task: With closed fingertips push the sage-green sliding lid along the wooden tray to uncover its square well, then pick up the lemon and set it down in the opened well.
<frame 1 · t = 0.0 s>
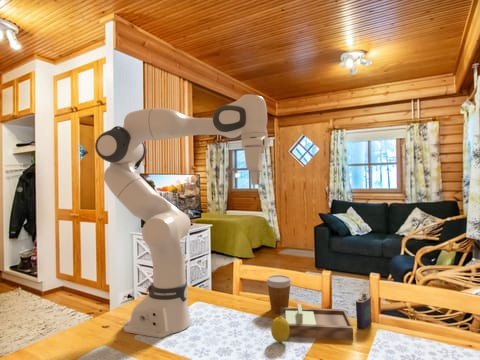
hand: (255, 184, 101), 48 cm above the table, fingers open, 8 cm apart
cover: (300, 313, 101), point 4 cm above the table, slide at 0.0 cm
lemon: (280, 343, 91), on the table
wooden tray: (314, 327, 101), on the table
disposable coffee cup: (279, 310, 115), on the table
flask: (364, 325, 102), on the table
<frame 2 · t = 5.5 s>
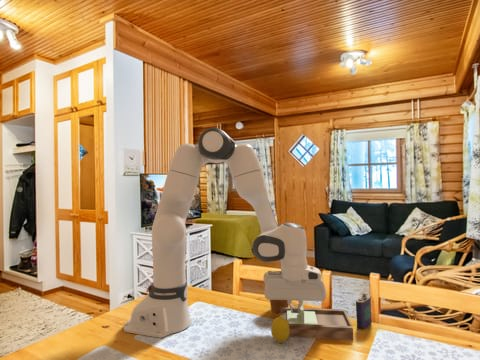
hand: (295, 312, 102), 5 cm above the table, fingers closed
cover: (301, 313, 101), point 4 cm above the table, slide at 0.5 cm, touching gripper
everything else where it was.
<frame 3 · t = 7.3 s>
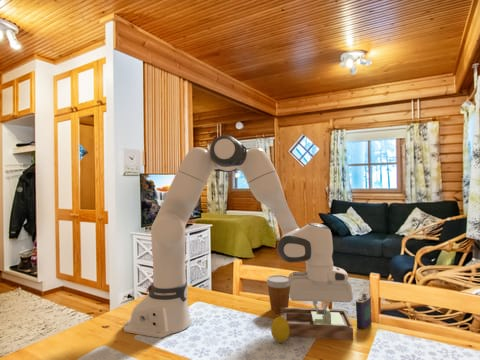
hand: (320, 313, 101), 5 cm above the table, fingers closed
cover: (327, 314, 100), point 4 cm above the table, slide at 8.9 cm, touching gripper
everything else where it was.
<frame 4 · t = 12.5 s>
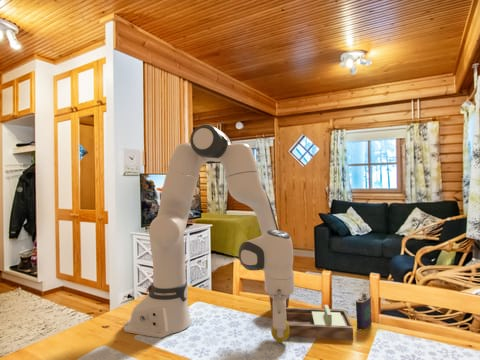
hand: (280, 330, 91), 4 cm above the table, fingers closed on lemon, 5 cm apart
cover: (327, 314, 100), point 4 cm above the table, slide at 9.1 cm
lemon: (280, 343, 91), on the table, touching gripper
everything else where it was.
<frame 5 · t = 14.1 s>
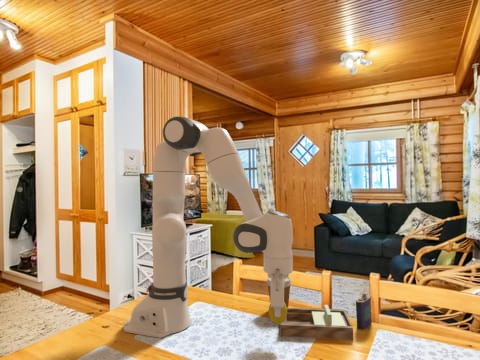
hand: (277, 311, 91), 10 cm above the table, fingers closed on lemon, 5 cm apart
lemon: (277, 325, 91), point 5 cm above the table, touching gripper
everything else where it was.
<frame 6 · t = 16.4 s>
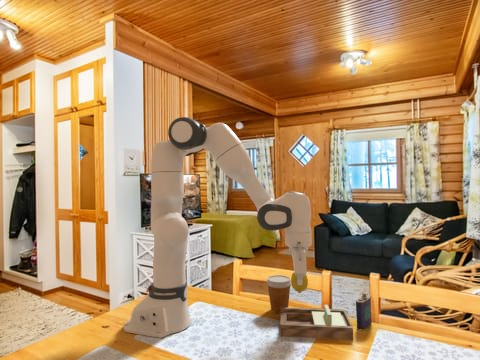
hand: (299, 280, 102), 15 cm above the table, fingers closed on lemon, 5 cm apart
lemon: (299, 293, 102), point 11 cm above the table, touching gripper
everything else where it was.
when the fingers open (6 cm above the table, at t = 18.4 s): lemon stays where it is, resting on wooden tray.
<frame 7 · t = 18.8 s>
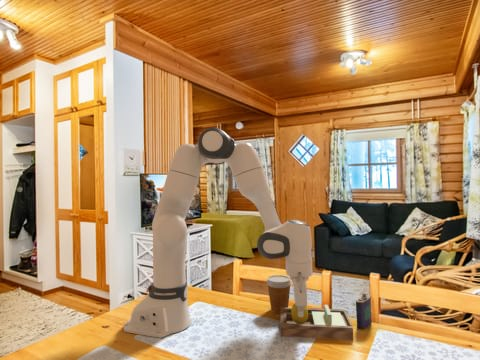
hand: (299, 310, 101), 6 cm above the table, fingers open, 8 cm apart
lemon: (300, 326, 101), resting on wooden tray
everything else where it was.
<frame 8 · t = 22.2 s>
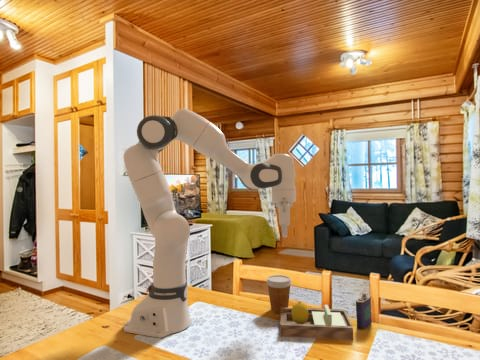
hand: (284, 234, 112), 29 cm above the table, fingers open, 8 cm apart
nothing on the table moved.
at the end: cover slide at 9.1 cm; lemon inside the target area on the wooden tray (0.0 cm from its centre), point 0.2 cm above the wooden tray's base; the gripper is holding nothing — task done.
